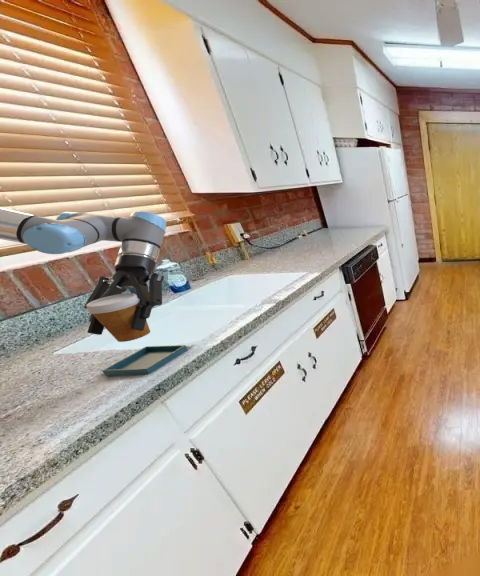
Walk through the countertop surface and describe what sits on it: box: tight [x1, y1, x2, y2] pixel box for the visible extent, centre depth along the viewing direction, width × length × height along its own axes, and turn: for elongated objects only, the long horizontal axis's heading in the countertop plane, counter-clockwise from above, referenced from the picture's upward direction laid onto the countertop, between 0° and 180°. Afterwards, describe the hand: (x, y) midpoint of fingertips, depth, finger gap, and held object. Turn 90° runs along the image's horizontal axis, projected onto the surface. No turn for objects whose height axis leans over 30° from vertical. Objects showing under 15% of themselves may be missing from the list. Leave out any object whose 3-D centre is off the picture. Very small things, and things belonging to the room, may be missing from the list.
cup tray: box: [101, 344, 189, 377], centre depth 89 cm, size 12×12×2 cm
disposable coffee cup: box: [85, 292, 151, 343], centre depth 84 cm, size 10×10×12 cm
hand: (116, 331), depth 82 cm, fingers closed on disposable coffee cup, 9 cm apart
